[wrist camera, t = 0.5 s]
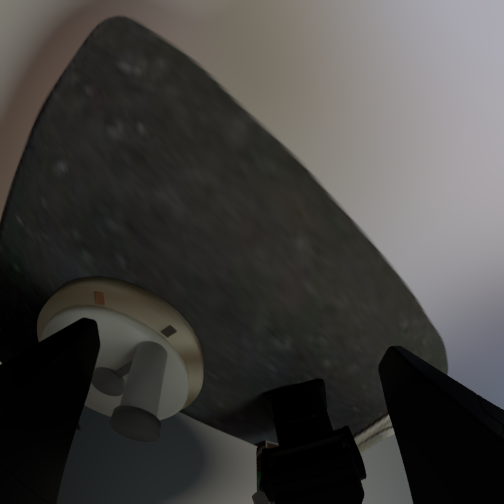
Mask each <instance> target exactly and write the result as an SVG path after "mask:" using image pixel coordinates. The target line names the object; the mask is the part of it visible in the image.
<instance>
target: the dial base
mask: <svg viewBox="0 0 504 504" xmlns="http://www.w3.org/2000/svg"><path fill="white" fill-rule="evenodd" d="M78 305H93V306H101V307H105V308H109V309H113V310H116V311H119V312H122V313H124V314H127V315H129V316H131V317H133V318H135V319H137V320H139V321H141V322H143V323H145V324H146V325H148V326H149V327H151V328H152V329H154V330H155V331H156V332H158V333H159V334H160V335H162V336H163V337H164V338H165V339H166V340H167V341H168V342H169V343H170V344H171V345H172V346H173V347H174V348H175V349H176V351H177V352H178V353H179V355H180V356H181V358H182V359H183V361H184V363H185V365H186V367H187V371H188V375H189V387H188V397H187V400H186V403H185V404H184V406H183V407H182V408H181V409H180V410H182V409H184V408H185V407H187V406H188V405H189V404H191V403H192V402H193V401H194V400H195V399H196V397H197V396H198V394H199V392H200V390H201V387H202V382H203V369H204V355H203V351H202V347H201V344H200V342H199V339H198V337H197V335H196V334H195V332H194V330H193V329H192V327H191V326H190V325H189V323H188V322H187V321H186V320H185V318H184V317H183V316H182V315H181V314H180V313H179V312H178V311H177V310H175V309H174V308H173V307H172V306H171V305H170V304H168V303H167V302H165V301H164V300H163V299H161V298H160V297H158V296H157V295H155V294H153V293H151V292H149V291H148V290H146V289H144V288H141V287H139V286H137V285H135V284H132V283H129V282H126V281H123V280H119V279H114V278H109V277H98V276H94V277H83V278H78V279H75V280H72V281H70V282H67V283H66V284H64V285H63V286H61V287H60V288H59V289H58V290H57V291H56V292H55V293H54V294H53V295H52V296H51V298H50V299H49V300H48V301H47V303H46V304H45V305H44V307H43V308H42V310H41V312H40V314H39V317H38V322H37V335H38V341H39V342H40V341H41V336H42V333H43V330H44V329H45V328H46V326H47V325H48V323H49V322H50V320H51V319H52V317H53V316H54V315H56V314H57V313H58V312H60V311H61V310H63V309H65V308H68V307H71V306H78ZM180 410H179V411H180Z"/></svg>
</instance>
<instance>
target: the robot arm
mask: <svg viewBox="0 0 504 504" xmlns="http://www.w3.org/2000/svg"><path fill="white" fill-rule="evenodd" d="M99 350H100V337H99V332H98V325H97V322H96V321H95V320H94V319H89V318H81V319H79V320H77V321H75V322H74V323H72V324H70V325H68V326H66V327H65V328H63V329H61V330H59V331H58V332H56V333H54V334H52V335H51V336H49V337H47V338H45V339H44V340H42V341H40V342H38V343H37V344H35V345H33V346H32V347H30V348H28V349H26V350H25V351H23V352H21V353H20V354H18V355H16V356H14V357H13V358H11V359H9V360H8V361H6V362H4V363H3V364H1V365H0V504H56V502H57V498H58V493H59V488H60V484H61V480H62V476H63V472H64V468H65V464H66V461H67V457H68V454H69V450H70V447H71V443H72V440H73V437H74V434H75V431H76V428H77V425H78V422H79V418H80V416H81V413H82V409H83V406H84V404H85V401H86V398H87V395H88V392H89V389H90V385H91V381H92V377H93V373H94V369H95V365H96V361H97V358H98V354H99ZM378 369H379V375H380V379H381V383H382V388H383V392H384V397H385V401H386V405H387V409H388V413H389V416H390V419H391V422H392V425H393V429H394V432H395V435H396V439H397V442H398V446H399V449H400V453H401V456H402V460H403V463H404V467H405V471H406V475H407V479H408V483H409V487H410V491H411V496H412V500H413V504H504V410H503V409H501V408H499V407H497V406H496V405H494V404H492V403H491V402H489V401H487V400H486V399H484V398H482V397H481V396H479V395H477V394H476V393H474V392H473V391H471V390H469V389H468V388H467V387H465V386H463V385H462V384H460V383H459V382H457V381H455V380H454V379H452V378H451V377H449V376H448V375H446V374H444V373H443V372H441V371H440V370H438V369H437V368H435V367H433V366H432V365H430V364H429V363H427V362H425V361H424V360H422V359H421V358H419V357H418V356H416V355H414V354H413V353H411V352H410V351H408V350H406V349H405V348H403V347H402V346H391V347H389V348H388V349H387V351H386V353H385V355H384V357H383V358H382V360H381V362H380V364H379V368H378ZM263 397H264V401H265V403H266V406H267V408H268V411H269V413H270V415H271V418H272V420H273V423H274V424H275V428H276V434H277V440H278V445H279V446H277V447H272V448H263V449H262V455H261V456H260V459H261V478H260V485H259V488H260V491H261V492H263V493H265V495H266V497H267V499H268V501H269V502H270V503H274V504H362V501H363V498H364V490H363V487H362V483H361V480H363V479H366V471H365V467H364V463H363V460H362V457H361V455H360V452H359V449H358V447H357V445H356V443H355V440H354V438H353V436H352V434H351V431H350V429H349V427H348V425H347V426H344V427H343V428H341V429H338V430H335V431H333V428H332V425H331V422H330V419H329V416H328V413H327V403H326V393H325V383H324V381H323V379H318V380H315V381H311V382H308V383H304V384H300V385H296V386H293V387H289V388H285V389H281V390H276V391H272V392H268V393H265V394H264V395H263Z"/></svg>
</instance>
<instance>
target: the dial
mask: <svg viewBox="0 0 504 504" xmlns="http://www.w3.org/2000/svg"><path fill="white" fill-rule="evenodd" d="M81 318H89V319H94V320H95V321H96V322H97V325H98V332H99V337H100V350H99V354H98V358H97V361H96V365H95V369H94V373H93V377H92V381H91V385H90V389H89V392H88V395H87V398H86V401H85V404H84V405H85V406H87V407H89V408H91V409H93V410H95V411H97V412H99V413H102V414H104V415H107V416H110V417H111V420H110V424H111V426H112V428H113V429H114V430H115V431H116V432H118V433H119V434H121V435H123V436H125V437H127V438H130V439H133V440H137V441H144V442H149V441H154V440H156V439H158V438H159V435H160V427H161V423H160V420H162V419H165V418H168V417H170V416H172V415H174V414H175V413H177V412H178V411H179V410H180V409H181V408H182V407H183V406H184V404H185V403H186V400H187V397H188V387H189V375H188V371H187V367H186V365H185V363H184V361H183V359H182V358H181V356H180V355H179V353H178V352H177V351H176V349H175V348H174V347H173V346H172V345H171V344H170V343H169V342H168V341H167V340H166V339H165V338H164V337H163V336H162V335H160V334H159V333H158V332H156V331H155V330H154V329H152V328H151V327H149V326H148V325H146V324H145V323H143V322H141V321H139V320H137V319H135V318H133V317H131V316H129V315H127V314H124V313H122V312H119V311H116V310H113V309H109V308H105V307H101V306H93V305H78V306H71V307H68V308H65V309H63V310H61V311H60V312H58V313H57V314H56V315H54V316H53V317H52V319H51V320H50V322H49V323H48V325H47V326H46V328H45V329H44V330H43V333H42V336H41V341H42V340H44V339H45V338H47V337H49V336H51V335H52V334H54V333H56V332H58V331H59V330H61V329H63V328H65V327H66V326H68V325H70V324H72V323H74V322H75V321H77V320H79V319H81Z"/></svg>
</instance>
